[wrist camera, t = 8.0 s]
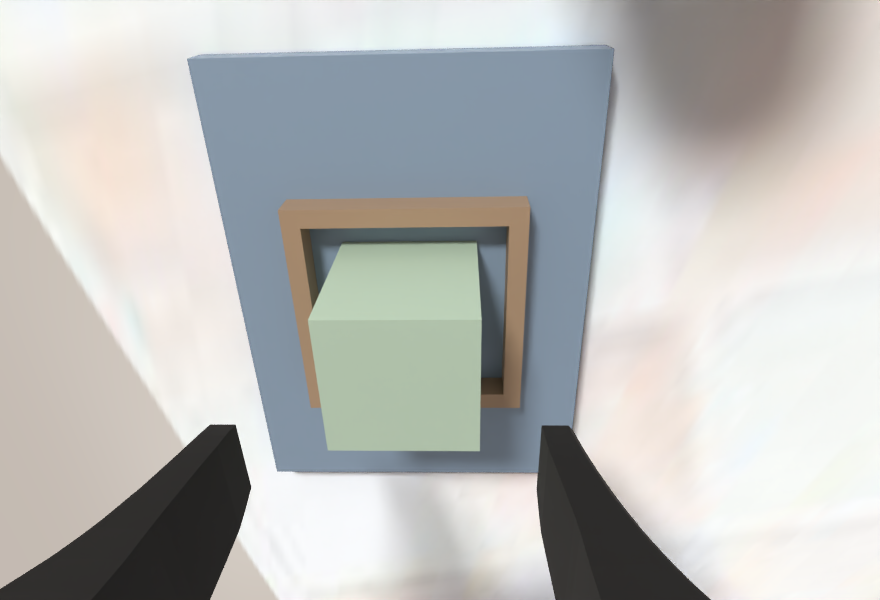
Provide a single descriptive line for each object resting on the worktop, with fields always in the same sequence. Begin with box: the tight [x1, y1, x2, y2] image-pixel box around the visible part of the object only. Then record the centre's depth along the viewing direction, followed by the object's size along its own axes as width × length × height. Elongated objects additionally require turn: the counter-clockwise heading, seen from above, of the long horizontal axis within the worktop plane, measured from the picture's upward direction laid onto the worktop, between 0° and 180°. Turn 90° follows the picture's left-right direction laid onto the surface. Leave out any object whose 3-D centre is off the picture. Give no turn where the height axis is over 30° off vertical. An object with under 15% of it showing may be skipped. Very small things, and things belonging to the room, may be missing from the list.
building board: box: [187, 45, 614, 473], centre depth 20 cm, size 16×12×2 cm
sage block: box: [308, 241, 482, 451], centre depth 18 cm, size 4×4×5 cm
